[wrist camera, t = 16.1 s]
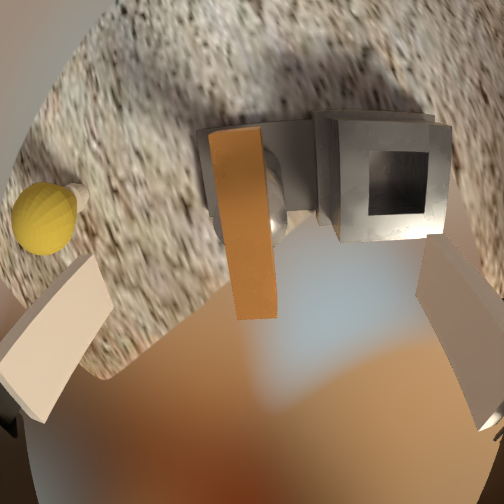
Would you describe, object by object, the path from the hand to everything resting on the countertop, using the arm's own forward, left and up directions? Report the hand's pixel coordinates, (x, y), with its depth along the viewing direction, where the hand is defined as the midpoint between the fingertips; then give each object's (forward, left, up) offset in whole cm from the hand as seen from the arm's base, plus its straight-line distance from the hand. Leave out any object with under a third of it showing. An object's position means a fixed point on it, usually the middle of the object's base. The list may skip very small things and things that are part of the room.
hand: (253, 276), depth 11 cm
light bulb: (+9, +17, -18) cm, 26 cm away
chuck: (-5, -9, -17) cm, 20 cm away
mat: (0, 0, -17) cm, 17 cm away
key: (0, 0, -16) cm, 16 cm away
